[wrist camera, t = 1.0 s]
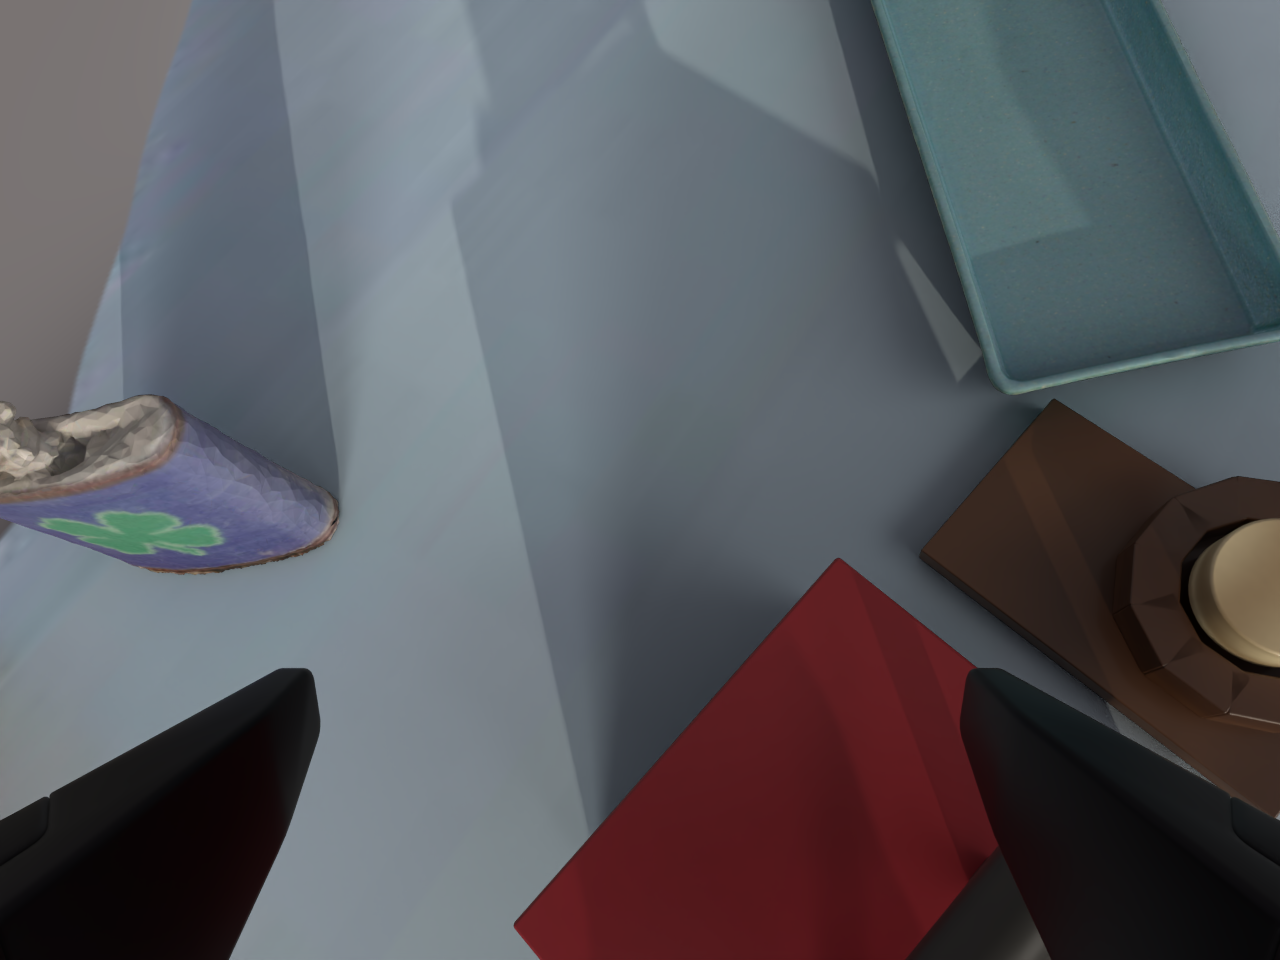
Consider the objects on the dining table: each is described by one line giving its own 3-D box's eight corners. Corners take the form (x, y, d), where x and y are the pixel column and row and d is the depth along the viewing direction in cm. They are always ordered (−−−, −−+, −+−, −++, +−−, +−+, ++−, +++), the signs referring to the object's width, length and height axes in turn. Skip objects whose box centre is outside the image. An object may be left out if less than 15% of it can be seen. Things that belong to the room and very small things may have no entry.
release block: (1421, 609, 24) (1485, 591, 21) (1259, 818, 23) (1307, 823, 21) (1066, 386, 28) (1087, 350, 25) (917, 557, 27) (925, 536, 25)
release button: (1372, 592, 22) (1410, 579, 21) (1290, 698, 22) (1322, 691, 20) (1238, 507, 23) (1264, 489, 22) (1158, 605, 23) (1179, 593, 22)
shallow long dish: (817, -114, 37) (816, -173, 35) (1035, -179, 36) (1049, -245, 34) (982, 428, 28) (996, 397, 26) (1286, 368, 26) (1329, 329, 24)
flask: (346, 485, 32) (128, 355, 22) (339, 561, 31) (109, 460, 21) (133, 510, 34) (-156, 398, 24) (120, 582, 33) (-187, 497, 23)
